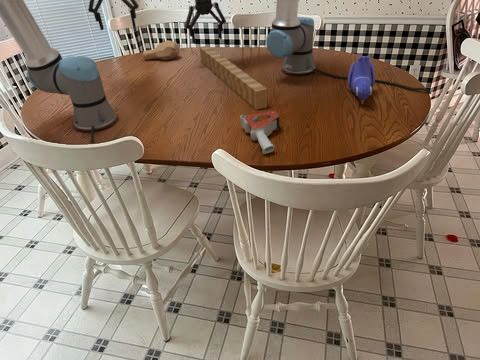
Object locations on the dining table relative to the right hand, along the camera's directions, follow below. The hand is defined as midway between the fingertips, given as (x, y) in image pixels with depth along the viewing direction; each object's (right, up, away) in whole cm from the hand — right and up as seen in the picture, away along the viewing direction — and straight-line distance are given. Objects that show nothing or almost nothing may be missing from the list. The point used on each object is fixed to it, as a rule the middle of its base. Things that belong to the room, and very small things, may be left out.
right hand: (207, 40), depth 174 cm
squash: (-26, -2, +19) cm, 32 cm away
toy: (+63, -36, -35) cm, 80 cm away
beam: (+11, -23, -13) cm, 29 cm away
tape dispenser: (+23, -54, -56) cm, 81 cm away
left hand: (-36, -3, -22) cm, 42 cm away
